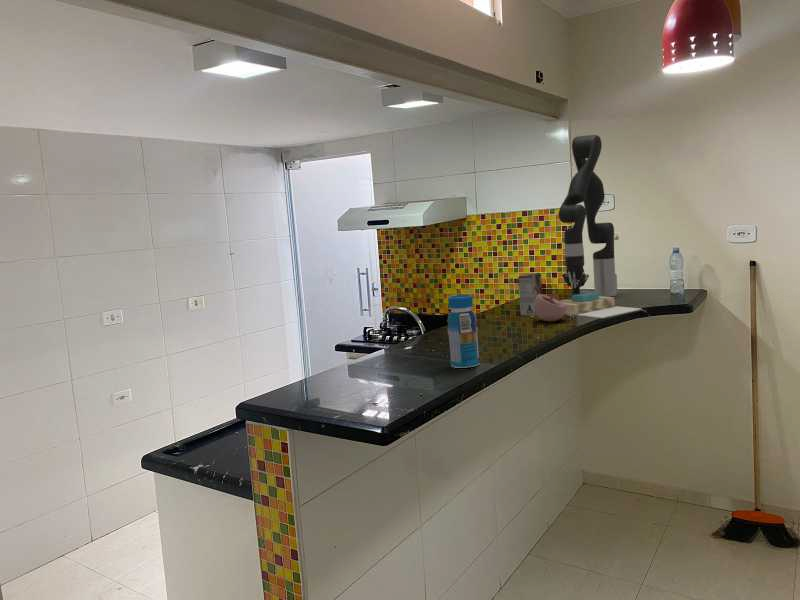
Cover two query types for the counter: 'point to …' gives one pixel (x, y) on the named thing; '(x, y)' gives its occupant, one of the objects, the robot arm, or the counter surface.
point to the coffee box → (529, 292)
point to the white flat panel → (609, 312)
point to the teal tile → (585, 297)
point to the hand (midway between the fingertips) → (576, 296)
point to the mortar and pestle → (549, 307)
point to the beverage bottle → (462, 332)
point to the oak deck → (588, 305)
